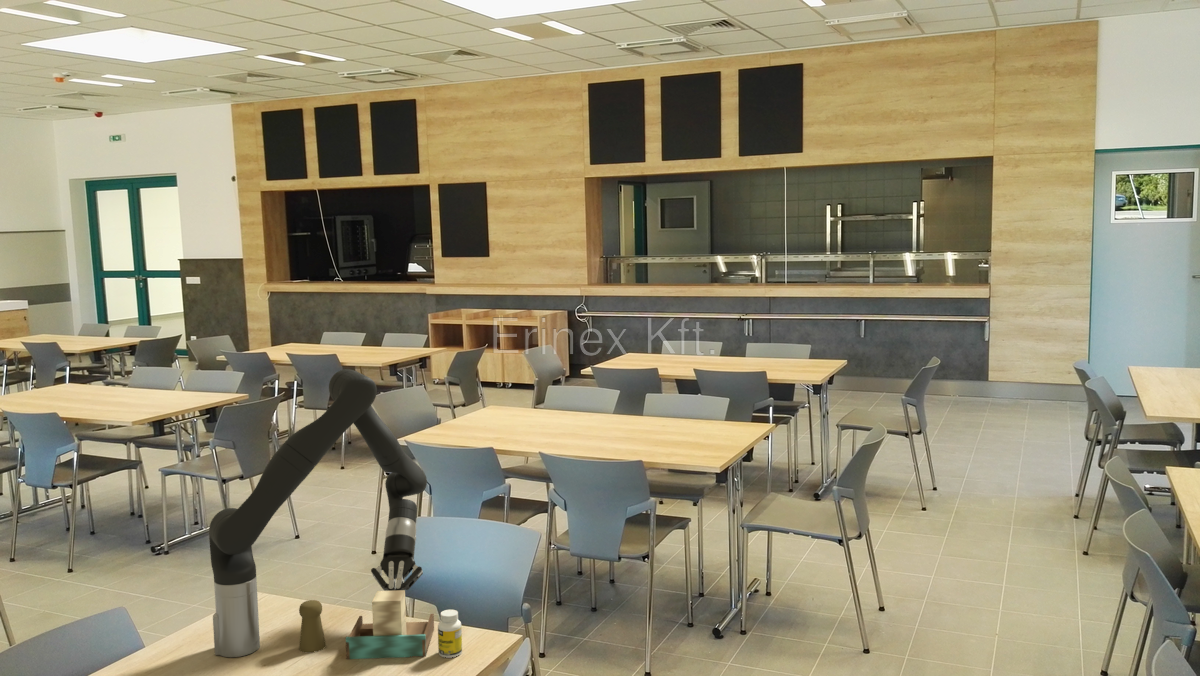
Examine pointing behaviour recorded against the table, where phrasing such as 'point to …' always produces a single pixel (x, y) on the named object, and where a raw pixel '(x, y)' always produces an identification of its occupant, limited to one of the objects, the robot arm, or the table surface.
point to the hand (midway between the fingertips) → (393, 605)
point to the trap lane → (389, 641)
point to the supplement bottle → (449, 634)
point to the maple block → (389, 613)
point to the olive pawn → (311, 627)
